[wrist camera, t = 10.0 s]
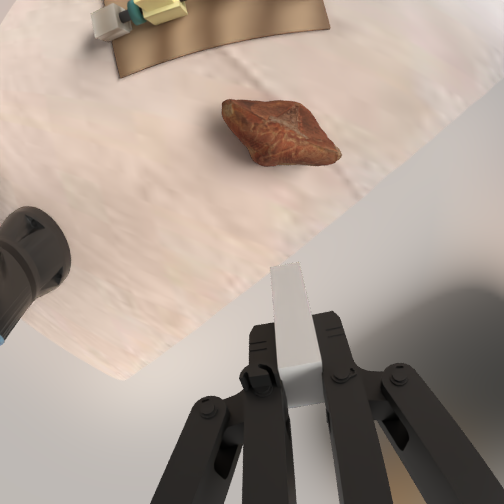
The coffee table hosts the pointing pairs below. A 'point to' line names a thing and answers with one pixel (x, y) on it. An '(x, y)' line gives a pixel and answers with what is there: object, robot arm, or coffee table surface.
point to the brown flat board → (199, 27)
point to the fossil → (279, 133)
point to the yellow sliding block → (161, 10)
